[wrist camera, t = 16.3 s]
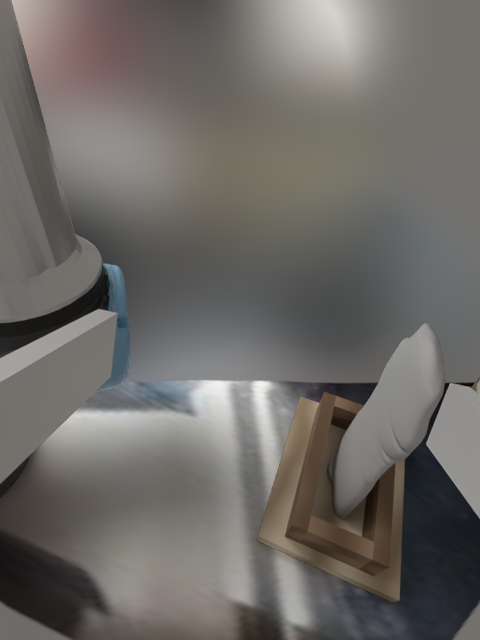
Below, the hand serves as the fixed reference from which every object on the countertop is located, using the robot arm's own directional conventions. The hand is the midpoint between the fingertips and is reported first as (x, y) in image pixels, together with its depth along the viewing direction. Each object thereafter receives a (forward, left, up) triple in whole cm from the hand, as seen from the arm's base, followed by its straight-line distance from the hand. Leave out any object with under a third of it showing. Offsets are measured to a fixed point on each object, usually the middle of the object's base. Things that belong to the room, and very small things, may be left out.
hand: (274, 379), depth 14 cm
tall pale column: (+10, +12, -29) cm, 33 cm away
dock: (+9, +12, -31) cm, 34 cm away
